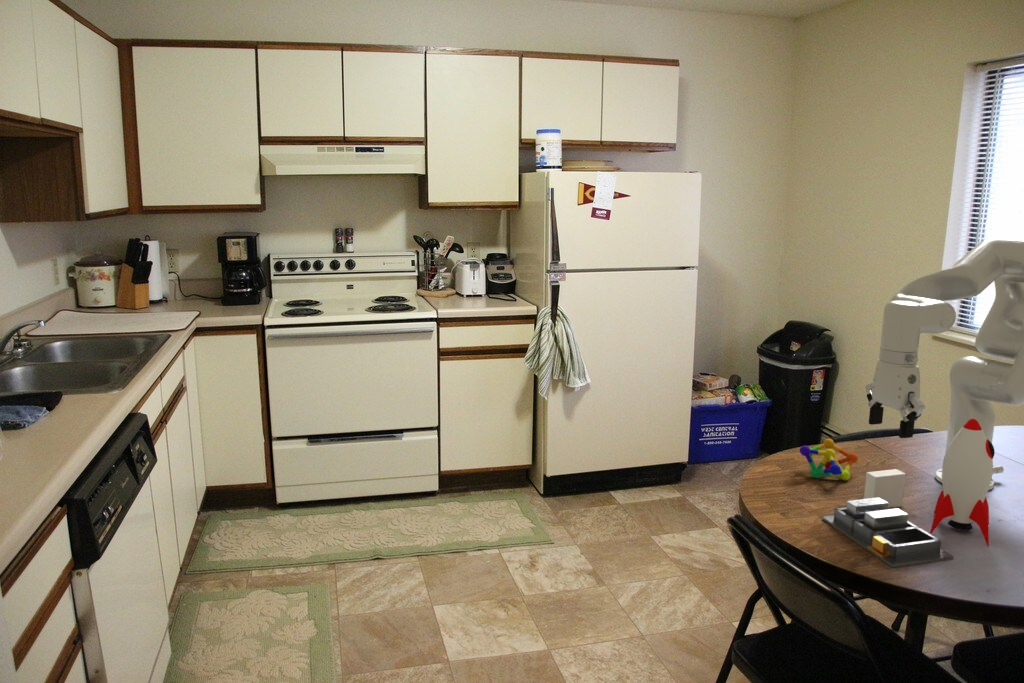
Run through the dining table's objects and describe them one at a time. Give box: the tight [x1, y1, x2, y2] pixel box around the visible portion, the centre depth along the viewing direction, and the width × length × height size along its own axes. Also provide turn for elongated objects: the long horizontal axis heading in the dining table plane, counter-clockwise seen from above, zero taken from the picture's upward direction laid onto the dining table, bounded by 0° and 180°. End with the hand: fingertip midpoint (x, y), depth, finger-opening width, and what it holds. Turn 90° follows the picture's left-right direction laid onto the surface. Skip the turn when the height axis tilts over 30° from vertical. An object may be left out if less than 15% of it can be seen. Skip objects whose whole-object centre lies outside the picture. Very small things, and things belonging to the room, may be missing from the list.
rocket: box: [929, 419, 995, 547], centre depth 159 cm, size 11×11×25 cm
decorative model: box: [799, 438, 859, 481], centre depth 192 cm, size 13×9×15 cm
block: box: [863, 468, 907, 508], centre depth 173 cm, size 8×3×8 cm, turn 103°
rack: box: [821, 497, 954, 569], centre depth 158 cm, size 14×22×6 cm, turn 13°
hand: (890, 430), depth 170 cm, fingers open, 9 cm apart
